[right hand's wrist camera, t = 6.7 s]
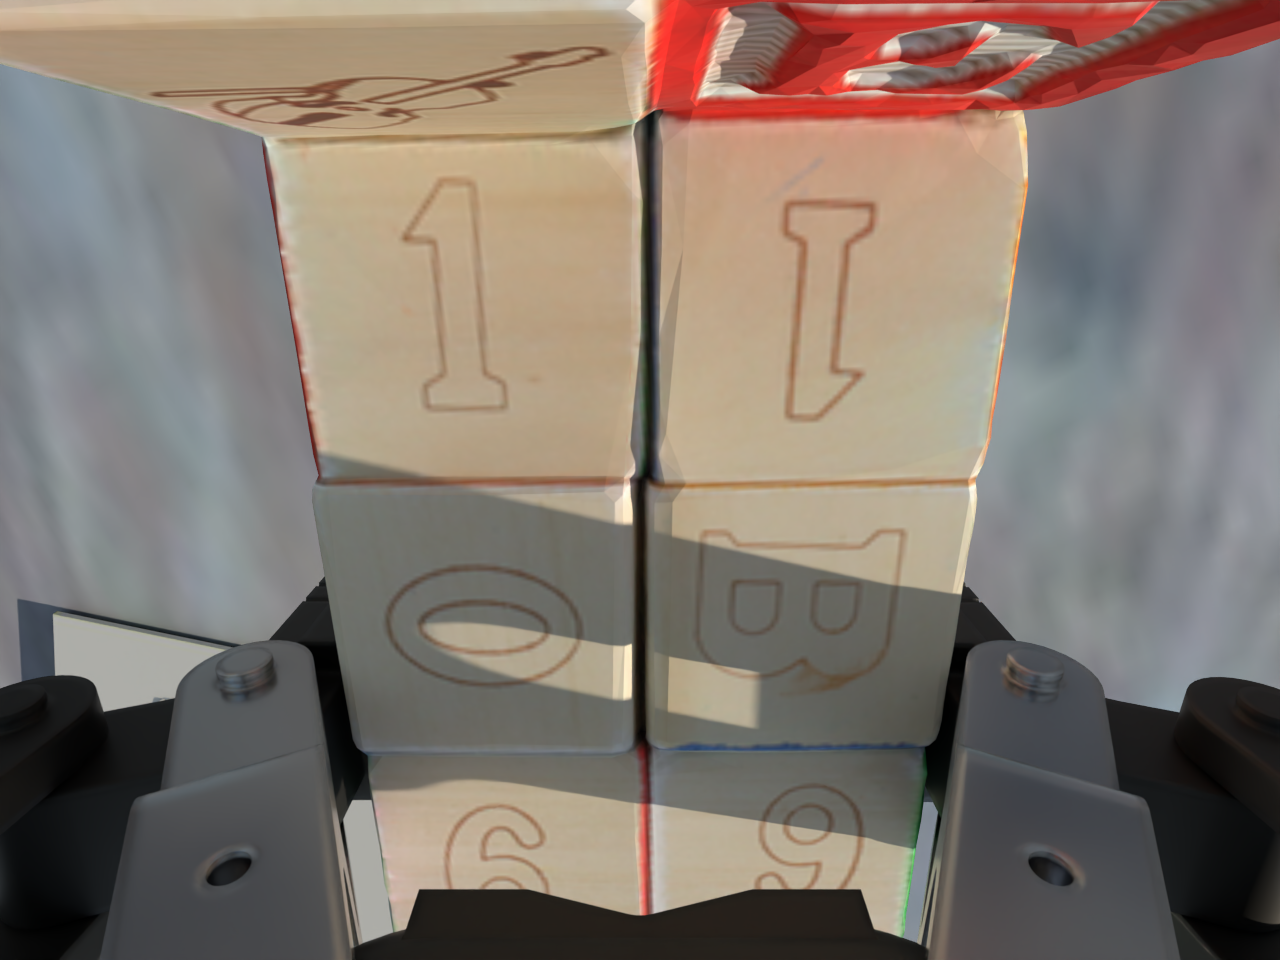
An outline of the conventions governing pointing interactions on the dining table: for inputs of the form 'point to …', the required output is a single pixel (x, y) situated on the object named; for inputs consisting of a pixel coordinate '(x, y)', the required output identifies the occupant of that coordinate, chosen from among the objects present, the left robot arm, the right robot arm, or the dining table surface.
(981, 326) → the stack of blocks
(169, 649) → the invitation card
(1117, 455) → the dining table surface
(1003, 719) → the right robot arm
